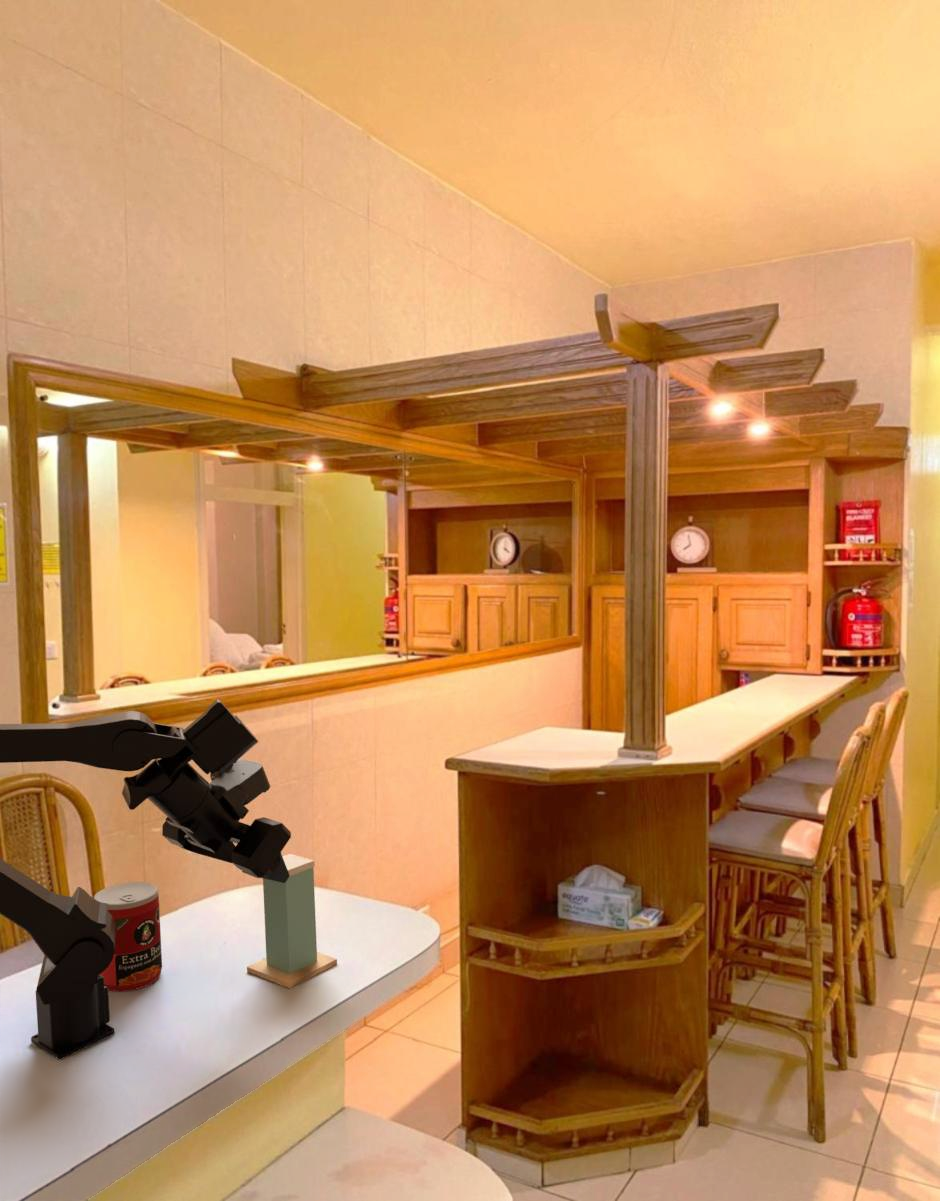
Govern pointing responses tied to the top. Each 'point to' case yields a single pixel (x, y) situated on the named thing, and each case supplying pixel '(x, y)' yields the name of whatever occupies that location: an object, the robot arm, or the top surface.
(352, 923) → the top surface
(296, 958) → the tea tin
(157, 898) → the canned food
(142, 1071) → the top surface
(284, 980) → the coaster
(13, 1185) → the top surface
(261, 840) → the robot arm
